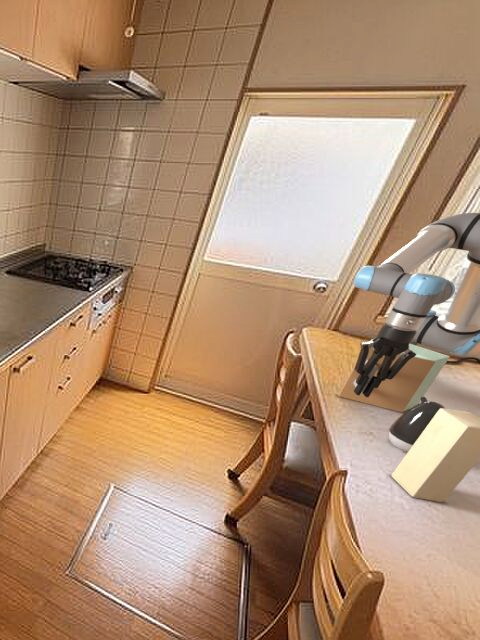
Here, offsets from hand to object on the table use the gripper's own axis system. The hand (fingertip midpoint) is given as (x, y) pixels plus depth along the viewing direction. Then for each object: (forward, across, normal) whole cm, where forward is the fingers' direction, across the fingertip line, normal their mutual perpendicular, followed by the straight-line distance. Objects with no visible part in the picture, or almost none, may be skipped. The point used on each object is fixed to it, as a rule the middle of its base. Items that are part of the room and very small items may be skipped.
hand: (360, 394), depth 135 cm
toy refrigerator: (+5, +1, -42) cm, 42 cm away
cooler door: (+5, +6, +4) cm, 9 cm away
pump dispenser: (+5, +6, -20) cm, 22 cm away
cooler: (+6, +12, +16) cm, 21 cm away
